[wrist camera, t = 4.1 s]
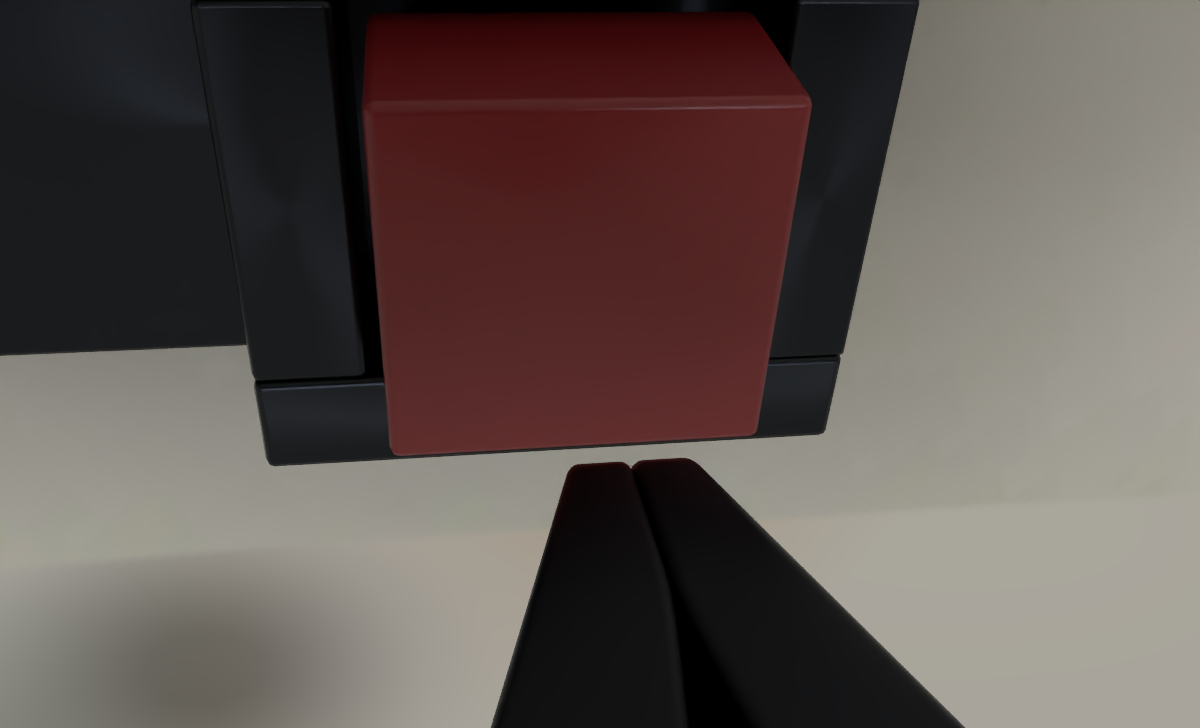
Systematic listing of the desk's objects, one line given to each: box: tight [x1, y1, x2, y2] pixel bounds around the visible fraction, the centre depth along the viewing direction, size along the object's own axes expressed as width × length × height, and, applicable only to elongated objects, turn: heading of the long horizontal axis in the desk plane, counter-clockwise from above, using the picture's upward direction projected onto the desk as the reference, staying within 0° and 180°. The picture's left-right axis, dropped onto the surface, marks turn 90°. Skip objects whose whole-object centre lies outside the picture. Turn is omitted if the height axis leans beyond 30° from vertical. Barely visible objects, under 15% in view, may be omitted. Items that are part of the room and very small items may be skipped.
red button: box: [362, 12, 812, 456], centre depth 11 cm, size 4×4×2 cm
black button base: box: [0, 0, 919, 466], centre depth 12 cm, size 13×6×4 cm, turn 87°
